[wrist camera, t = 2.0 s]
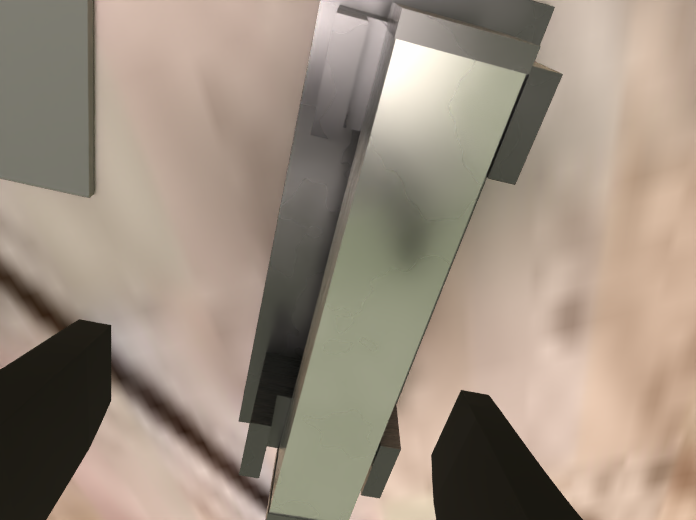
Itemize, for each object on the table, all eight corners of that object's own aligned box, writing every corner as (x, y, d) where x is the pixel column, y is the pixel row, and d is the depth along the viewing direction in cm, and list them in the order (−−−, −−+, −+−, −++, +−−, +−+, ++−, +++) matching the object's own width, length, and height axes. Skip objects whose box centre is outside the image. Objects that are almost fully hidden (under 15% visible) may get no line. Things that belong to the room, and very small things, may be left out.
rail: (345, 467, 22) (344, 535, 19) (275, 455, 22) (264, 523, 19) (502, 32, 14) (540, 46, 11) (391, 2, 13) (402, 8, 10)
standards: (378, 436, 25) (383, 522, 21) (241, 411, 25) (219, 496, 21) (548, 6, 16) (613, 15, 12) (332, -57, 15) (324, -69, 11)
